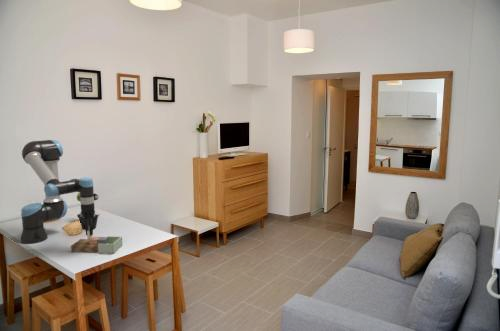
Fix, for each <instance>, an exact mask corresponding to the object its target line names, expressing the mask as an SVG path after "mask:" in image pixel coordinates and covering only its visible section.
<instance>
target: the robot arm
mask: <svg viewBox="0 0 500 331" xmlns="http://www.w3.org/2000/svg"><path fill="white" fill-rule="evenodd" d="M63 154H64V149H63V146H62V144H61V143H60V142H59V141H58V140H56V139H44V140H32V141H30V142H28V143H26V144H25V145H24V146H23V148H22V150H21V156H22V159H23V161H24V162H25V163H26V164H27V165H29V166H30V167H31V169H32V170H33V171H34V173H35V174H36V175H37V176H38V179H39V180H41V182H42V183H43V184H44V187H43V191H44V193H45V196H44V197H45V199H43V201H42V202H43V204H42V203H40V202H36V203H29V204H26V205H24V206H23V207H22V208H21V213H20V215H21V224H22V231H21V232H22V233H21V236H20V243H22V244H26V245H27V244H36V243H37V244H38V243H41V242H44V241H46V240H47V239H48V238H49V237H48V233H47V231H46V229H45V227H44V223H45V222H49V221H53V220H58V219H61V218H64V217H65V216H66V215H67V212H68V205H67V202H66V201H65V200H63V198H62V197H61V195H67V194H73V193H80V201H79V202H80V210H81V211H80V213H78V214H77V218H78V221H79V220H80V223H81V224H80V226H81V229H82V231H85V236H87V238H86V239H88V241H89V239H91V238H92V237H93V235H94V230H95V229H96V228H97V225H98V219H99V216H100V214H99V213H97V212H96V211H95V210H96V209H95V200H94V194H95V193H94V181H93V178H92V177H81V178H79V179H78V178H71V179H70V180H66V181H65V180H64V181H60V179H59V178H60V177H59V164H58V162H59V161H61V158H62V156H63ZM82 215H83V216H82ZM93 216H94V221H93ZM83 217H84V219H83ZM84 220H85V222H84Z"/></svg>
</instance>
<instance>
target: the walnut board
mask: <svg viewBox="0 0 500 331" xmlns="http://www.w3.org/2000/svg"><path fill="white" fill-rule="evenodd" d="M70 249H71V253H88V254H89V253H93V254H94V253H95V254H97V253H98V244H89V241H88V239H87V238H85V239H84V238H79V240H77V241H76V242H74V243H73V244H72V245H71V246H70ZM98 254H99V253H98Z"/></svg>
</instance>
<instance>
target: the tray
mask: <svg viewBox="0 0 500 331" xmlns="http://www.w3.org/2000/svg"><path fill="white" fill-rule="evenodd" d="M106 237H109V242H108V243H107V244H98V254H101V255H102V254H104V255H105V254H106V255H107V254H108V255H114V254H116V252H117V251H118V250H119V249H120V248H122V247H123V236H115V235H114V236H111V235H109V236H106Z"/></svg>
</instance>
